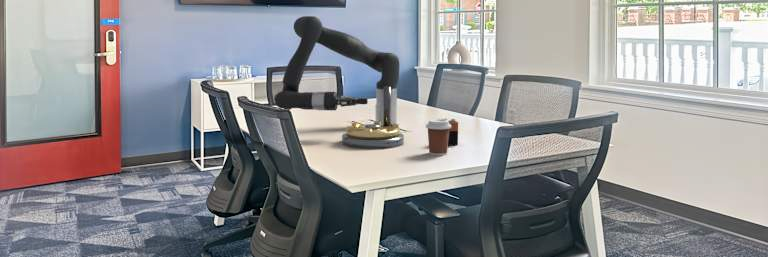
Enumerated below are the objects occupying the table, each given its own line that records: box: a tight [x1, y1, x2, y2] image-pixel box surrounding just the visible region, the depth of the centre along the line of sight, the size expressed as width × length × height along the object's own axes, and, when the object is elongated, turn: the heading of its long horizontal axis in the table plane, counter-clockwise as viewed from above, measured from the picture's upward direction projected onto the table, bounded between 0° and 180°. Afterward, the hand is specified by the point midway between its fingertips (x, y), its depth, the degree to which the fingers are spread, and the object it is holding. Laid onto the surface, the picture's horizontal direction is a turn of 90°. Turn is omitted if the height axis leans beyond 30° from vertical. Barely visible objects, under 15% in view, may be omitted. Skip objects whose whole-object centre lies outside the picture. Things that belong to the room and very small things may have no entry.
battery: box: [443, 118, 459, 146], centre depth 246 cm, size 4×7×10 cm, turn 97°
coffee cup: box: [425, 118, 451, 156], centre depth 229 cm, size 9×9×12 cm
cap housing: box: [341, 132, 405, 150], centre depth 250 cm, size 24×24×3 cm
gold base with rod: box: [345, 87, 401, 139], centre depth 248 cm, size 21×21×18 cm
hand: (367, 101), depth 255 cm, fingers closed
